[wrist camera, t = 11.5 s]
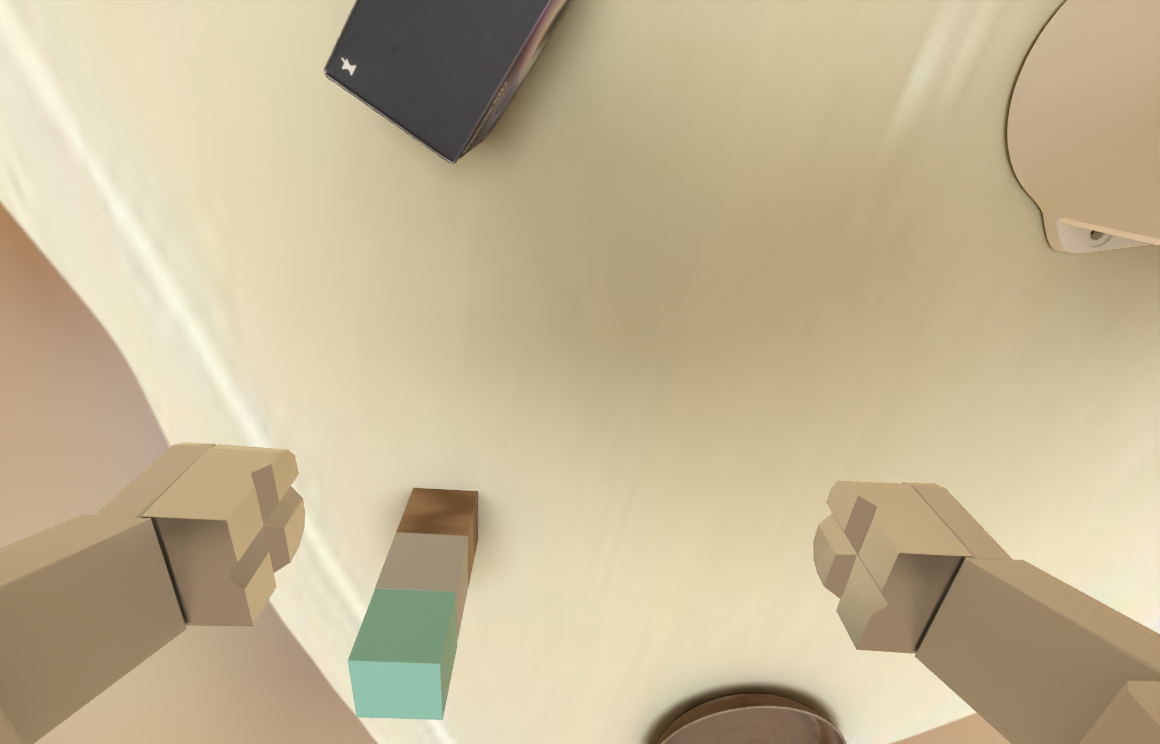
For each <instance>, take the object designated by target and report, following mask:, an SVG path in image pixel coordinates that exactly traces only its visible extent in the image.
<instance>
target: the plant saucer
mask: <svg viewBox="0 0 1160 744" xmlns="http://www.w3.org/2000/svg"><path fill="white" fill-rule="evenodd" d="M656 744H846V741H845V739H844V737H843V735H842V734H841V733H840V731H839V730H838V729H837V728H836V727H835V726H834V725H833V724H832V723H830V722H829V721H828V720H827V719H826V718H824V717H823V716H822V715H820V714H819V713H817V712H816V711H814V710H812V709H811V708H809V707H807V706H805V705H803V704H801V703H798V702H796V701H794V700H791V699H788V698H784V697H780V696H776V695H770V694H760V693H745V694H735V695H729V696H724V697H720V698H717V699H713V700H710V701H708V702H705V703H703V704H700V705H698V706H696V707H694V708H692V709H691V710H689V711H687V712H686V713H684V714H683V715H681V716H680V717H679V718H678V719H676V720H675V721H674V722H673V723H672V724H671V725H670V726H669V727H668V728H667V729H666V731H665V732H664V733H663V734H662V736H661V737H660V738H659V740H658V741H657V743H656Z"/></svg>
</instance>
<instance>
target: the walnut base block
mask: <svg viewBox="0 0 1160 744" xmlns="http://www.w3.org/2000/svg"><path fill="white" fill-rule="evenodd" d="M397 532H401V533H420V534H440V535H460V536H468V586H469V581H470V576H471V571H472V566H473V561H474V556H475V551H476V546H477V541H478V491H462V490H443V489H423V488H413V491H412V493H411V496H410V498H409V501H408V504H407V506H406V509H405V512H404V514H403V517H402V519H401V522H400V525H399V527H398V530H397Z"/></svg>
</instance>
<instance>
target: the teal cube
mask: <svg viewBox="0 0 1160 744" xmlns="http://www.w3.org/2000/svg"><path fill="white" fill-rule="evenodd" d="M456 649H457V619H456V592H442V591H419V590H395V589H375V591H374V594H373V596H372V599H371V602H370V604H369V607H368V609H367V612H366V615H365V617H364V620H363V622H362V625H361V628H360V630H359V633H358V636H357V638H356V641H355V643H354V646H353V649H352V651H351V654H350V657H349V659H348V664H349V670H350V677H351V684H352V690H353V697H354V703H355V710H356V716H357V717H369V718H402V719H435V720H443V715H444V710H445V705H446V699H447V694H448V689H449V684H450V679H451V674H452V669H453V664H454V659H455V654H456Z"/></svg>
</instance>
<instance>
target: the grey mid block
mask: <svg viewBox="0 0 1160 744" xmlns="http://www.w3.org/2000/svg"><path fill="white" fill-rule="evenodd" d="M375 589H395V590H419V591H442V592H456V619H457V640H458V635H459V630H460V625H461V620H462V615H463V610H464V605H465V600H466V595H467V590H468V536H460V535H440V534H420V533H401V532H396V535H395V537H394V540H393V542H392V545H391V548H390V550H389V553H388V555H387V558H386V561H385V563H384V566H383V568H382V571H381V574H380V576H379V579H378V582H377V584H376V587H375Z"/></svg>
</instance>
